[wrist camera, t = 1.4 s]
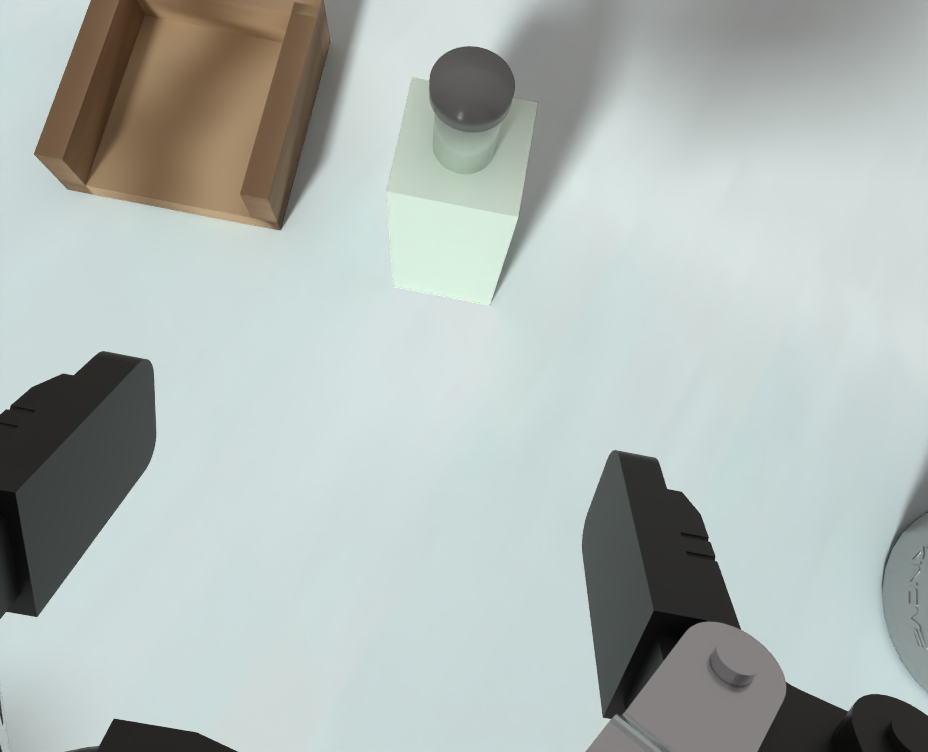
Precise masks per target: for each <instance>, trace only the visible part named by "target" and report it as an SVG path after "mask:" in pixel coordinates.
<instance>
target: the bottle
mask: <svg viewBox="0 0 928 752" xmlns="http://www.w3.org/2000/svg"><path fill="white" fill-rule="evenodd" d="M514 90H515V81H514V77H513V74H512V71H511V69H510V68H509V66H508V65H507V63H506V62H505V61H504V60H503V59H502V58H501V57H500V56H498V55H497V54H495V53H493V52H491V51H489V50H487V49H484V48H480V47H471V46H467V47H460V48H456V49H453V50H451V51H449V52H447V53H445V54H444V55H443V56H441V57H440V58H439V59H438V60H437V61H436V63H435V64H434V66H433V68H432V70H431V74H430V80H429V81H428V80H423V79H418V78H413V77H412V80H411V84H410V89H409V93H408V97H407V102H406V106H405V111H404V115H403V120H402V124H401V128H400V133H399V137H398V142H397V146H396V151H395V155H394V160H393V164H392V168H391V173H390V177H389V182H388V186H387V191H386V194H387V208H388V223H389V237H390V252H391V266H392V280H393V287H396V288H401V289H406V290H411V291H416V292H422V293H427V294H432V295H437V296H442V297H448V298H453V299H458V300H463V301H469V302H474V303H479V304H484V305H489V306H490V304H491V300H492V297H493V294H494V291H495V288H496V285H497V282H498V279H499V276H500V273H501V269H502V266H503V263H504V260H505V257H506V254H507V251H508V248H509V245H510V242H511V239H512V235H513V232H514V229H515V226H516V223H517V220H518V217H519V211H520V205H521V199H522V193H523V187H524V181H525V176H526V170H527V164H528V158H529V152H530V146H531V140H532V135H533V129H534V123H535V117H536V111H537V105H538V102H533V101H528V100H523V99H518V98H513V95H514Z"/></svg>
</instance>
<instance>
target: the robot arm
mask: <svg viewBox="0 0 928 752" xmlns="http://www.w3.org/2000/svg"><path fill="white" fill-rule="evenodd" d="M155 442H156V415H155V390H154V370H153V366H152V363H151V362H150V361H149V360H147V359H142V358H137V357H131V356H126V355H121V354H116V353H110V352H105V351H102V352H99V353H98V354H97V355H95V356H94V357H93V358H92V359H91V360H90V361H89V362H88V363H87V364H86V365H84V366H83V367H82V368H81V369H80V370H79V371H78V372H77V373H76V374H75V375H74V376H73V375H68V374H61V375H59V376H56V377H54V378H52V379H50V380H47V381H45V382H43V383H40V384H38V385H36V386H34V387H32V388H30V389H29V390H28V391H27V392H26V393H25V394H24V395H22V396H21V397H20V398H19V399H18V400H17V401H15V402H14V403H13V404H12V405H11V407H10V410H7V409H6V410H5V411H4V412H3V413H2V414H0V619H1V618H2V616H3V615H4V614H5V612H11V613H17V614H23V615H29V616H34V617H38V615H39V614H40V613H41V611H42V610H43V609H44V607H45V606H46V604H47V603H48V602H49V600H50V599H51V598H52V596H53V595H54V594H55V592H56V591H57V589H58V588H59V587H60V585H61V584H62V583H63V581H64V580H65V579H66V577H67V576H68V575H69V573H70V572H71V570H72V569H73V568H74V566H75V565H76V564H77V562H78V561H79V560H80V558H81V557H82V555H83V554H84V553H85V551H86V550H87V549H88V547H89V546H90V545H91V543H92V542H93V541H94V539H95V538H96V536H97V535H98V534H99V532H100V531H101V530H102V528H103V527H104V526H105V524H106V523H107V521H108V520H109V519H110V517H111V516H112V515H113V513H114V512H115V511H116V509H117V508H118V507H119V505H120V504H121V502H122V501H123V500H124V498H125V497H126V496H127V494H128V493H129V492H130V490H131V489H132V487H133V486H134V485H135V483H136V482H137V481H138V479H139V478H140V477H141V475H142V474H143V473H144V471H145V470H146V468H147V466H148V464H149V462H150V460H151V458H152V455H153V451H154V447H155ZM708 538H709V537H708V534H707V531H706V528H705V525H704V523H703V520H702V517H701V514H700V513H699V512H698V511H697V509H696V508H695V507H694V506H693V505H692V503H691V502H690V501H689V500H688V499H687V497H686V496H685V495H684V494H683V493H682V492H680V491H674V490H669V489H667V487H666V484H665V481H664V477H663V474H662V471H661V468H660V464H659V462H658V460H657V459H656V458H654V457H648V456H643V455H638V454H633V453H627V452H622V451H617V450H614V451H612V452H611V454H610V455H609V457H608V459H607V462H606V464H605V467H604V470H603V473H602V475H601V478H600V481H599V484H598V486H597V489H596V492H595V494H594V497H593V500H592V503H591V505H590V508H589V511H588V513H587V517H586V520H585V524H584V530H583V538H582V553H583V561H584V569H585V577H586V585H587V593H588V601H589V609H590V617H591V625H592V633H593V642H594V650H595V658H596V666H597V674H598V682H599V690H600V698H601V706H602V714H603V718H609V719H611V720H610V721H609V723H608V724H607V725H606V726H605V728H604V729H603V730H602V732H601V733H600V734H599V735H598V737H597V738H596V739H595V741H594V742H593V743H592V744H591V746H590V747H589V748H588V750H587V751H586V752H928V716H927V715H926V714H924V713H923V712H921V711H920V710H918V709H917V708H915V707H913V706H912V705H910V704H908V703H906V702H904V701H901V700H899V699H897V698H893V697H890V696H886V695H880V694H870V695H866V696H863V697H861V698H859V699H858V700H857V701H856V702H855V704H854V705H853V706H852V707H851V709H850V710H849V711H845V710H843V709H841V708H839V707H837V706H834V705H832V704H830V703H828V702H826V701H823V700H821V699H819V698H817V697H815V696H812V695H810V694H808V693H806V692H803V691H801V690H799V689H797V688H795V687H793V686H791V685H790V684H788V683H787V682H786V681H785V677H784V674H783V672H782V670H781V668H780V666H779V664H778V662H777V661H776V659H775V658H774V657H773V655H772V654H771V653H770V652H769V651H768V650H767V649H766V648H765V647H764V646H763V645H762V644H761V643H760V642H759V641H757V640H756V639H755V638H753V637H752V636H751V635H749V634H747V633H746V632H744V631H742V630H741V628H740V625H739V622H738V619H737V617H736V614H735V611H734V608H733V605H732V602H731V599H730V597H729V594H728V591H727V588H726V585H725V582H724V580H723V577H722V574H721V571H720V568H719V565H718V562H717V561H715V554H714V551H713V548H712V545H711V543H710V542H708ZM882 593H883V607H884V616H885V620H886V624H887V627H888V631H889V635H890V638H891V641H892V643H893V645H894V647H895V649H896V651H897V653H898V655H899V657H900V660H901V661H902V663H903V664H904V666H905V667H906V668H907V670H908V671H909V673H910V674H911V675H912V677H913V678H914V680H915V681H916V682H917V683H918V684H919V685H920V686H921V687H922V688H923V689H924V690H925V691H926V692H927V693H928V513H927V514H925V515H923V516H922V517H920V518H918V519H917V520H916V521H915V522H913V523H912V524H911V525H910V526H909V527H908V528H907V529H906V530H905V531H904V532H903V533H902V535H901V536H900V538H899V539H898V541H897V543H896V544H895V546H894V547H893V549H892V551H891V554H890V557H889V560H888V563H887V565H886V568H885V574H884V582H883V590H882ZM0 752H10V749H9V743H8V736H7V729H6V721H5V714H4V707H3V699H2V692H1V684H0ZM66 752H237V751H235V750H233V749H231V748H229V747H227V746H225V745H222V744H220V743H218V742H216V741H214V740H212V739H210V738H207V737H205V736H203V735H201V734H199V733H197V732H191V731H185V730H179V729H173V728H167V727H161V726H155V725H149V724H143V723H137V722H131V721H125V720H119V719H113V721H112V723H111V725H110V727H109V729H108V731H107V732H106V734H105V736H104V738H103V740H102V742H101V744H100V746H95V747H86V748H81V749H76V750H71V751H66Z"/></svg>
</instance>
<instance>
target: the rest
mask: <svg viewBox="0 0 928 752" xmlns="http://www.w3.org/2000/svg"><path fill="white" fill-rule="evenodd" d="M329 44H330V38H329V32H328V26H327V19H326V13H325V7H324V1H323V0H91V2H90V4H89V7H88V10H87V13H86V15H85V18H84V21H83V23H82V26H81V29H80V31H79V34H78V37H77V39H76V42H75V45H74V48H73V50H72V53H71V56H70V58H69V61H68V64H67V66H66V69H65V72H64V74H63V77H62V80H61V82H60V85H59V88H58V91H57V93H56V96H55V99H54V101H53V104H52V107H51V109H50V112H49V115H48V117H47V120H46V123H45V125H44V128H43V131H42V134H41V136H40V139H39V142H38V144H37V147H36V150H35V152H34V155H35V156H36V157H37V158H38V159H39V160H40V161H41V162H42V163H43V164H44V165H45V166H46V167H47V168H48V169H49V170H50V171H51V173H52V174H53V175H54V176H55V177H56V178H57V179H58V180H59V181H60V182H61V183H62V184H63V185H64V186H65V187H66V188H67V189H69V190H74V191H79V192H84V193H89V194H94V195H100V196H105V197H110V198H115V199H120V200H126V201H131V202H136V203H141V204H146V205H151V206H157V207H162V208H167V209H172V210H177V211H183V212H188V213H193V214H198V215H203V216H208V217H214V218H219V219H224V220H229V221H234V222H240V223H245V224H250V225H255V226H260V227H265V228H271V229H276V230H281V226H282V222H283V219H284V215H285V211H286V207H287V203H288V200H289V196H290V192H291V188H292V184H293V181H294V177H295V173H296V169H297V165H298V162H299V158H300V154H301V150H302V147H303V143H304V139H305V135H306V131H307V128H308V124H309V120H310V116H311V112H312V109H313V105H314V101H315V97H316V93H317V90H318V86H319V82H320V78H321V74H322V71H323V67H324V63H325V59H326V55H327V52H328V48H329Z"/></svg>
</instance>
